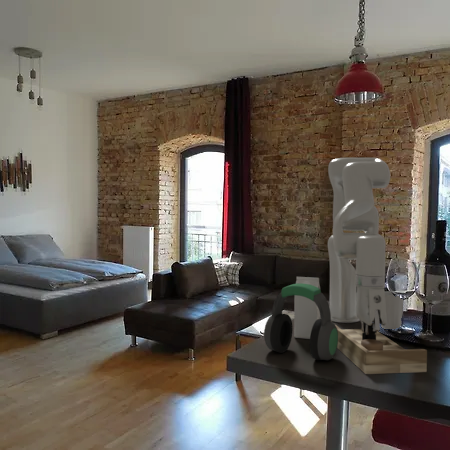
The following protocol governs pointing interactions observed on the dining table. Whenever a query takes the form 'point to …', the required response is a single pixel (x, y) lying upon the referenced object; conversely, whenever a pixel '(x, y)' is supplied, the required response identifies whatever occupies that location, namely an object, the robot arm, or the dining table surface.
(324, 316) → the headphones
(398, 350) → the wooden compartment tray
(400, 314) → the cup
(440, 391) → the dining table surface
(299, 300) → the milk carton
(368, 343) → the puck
